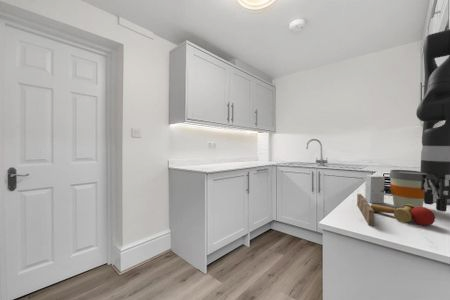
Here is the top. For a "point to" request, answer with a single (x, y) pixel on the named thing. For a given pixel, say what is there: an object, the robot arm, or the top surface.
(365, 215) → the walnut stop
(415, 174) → the reusable coffee cup
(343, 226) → the top surface
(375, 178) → the skincare box
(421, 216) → the kendama
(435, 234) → the top surface
